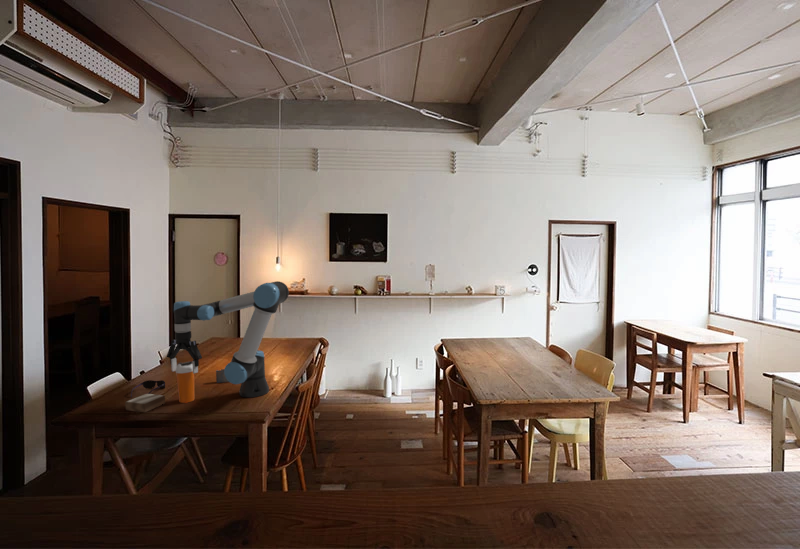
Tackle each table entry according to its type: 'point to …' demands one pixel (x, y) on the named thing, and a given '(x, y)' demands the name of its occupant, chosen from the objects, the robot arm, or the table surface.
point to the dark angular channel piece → (220, 376)
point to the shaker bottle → (185, 382)
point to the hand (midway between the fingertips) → (184, 371)
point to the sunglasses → (151, 385)
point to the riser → (145, 402)
